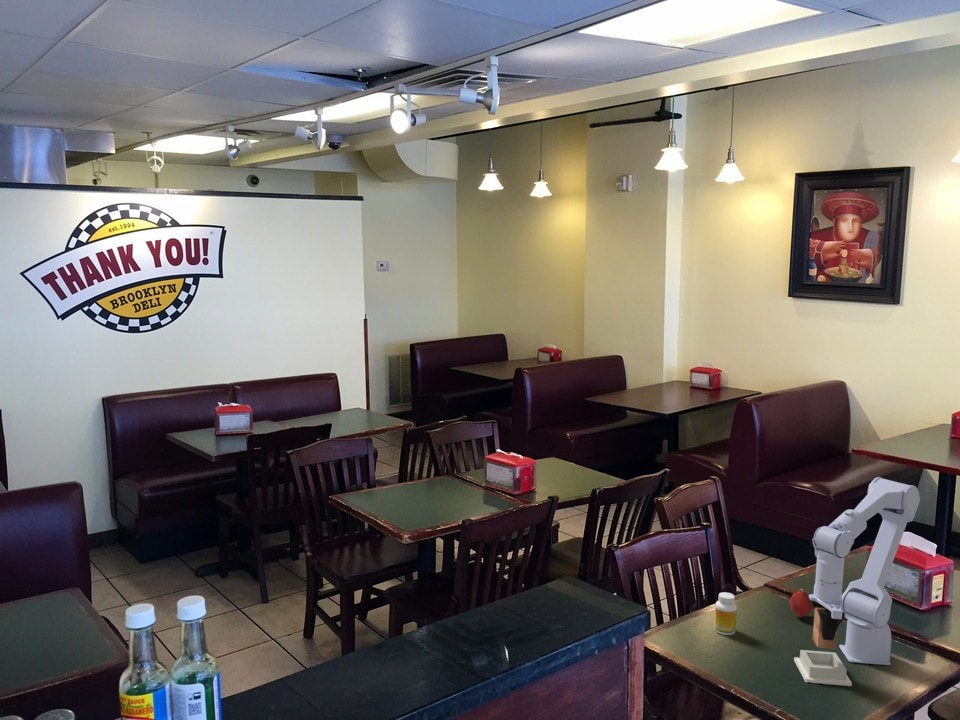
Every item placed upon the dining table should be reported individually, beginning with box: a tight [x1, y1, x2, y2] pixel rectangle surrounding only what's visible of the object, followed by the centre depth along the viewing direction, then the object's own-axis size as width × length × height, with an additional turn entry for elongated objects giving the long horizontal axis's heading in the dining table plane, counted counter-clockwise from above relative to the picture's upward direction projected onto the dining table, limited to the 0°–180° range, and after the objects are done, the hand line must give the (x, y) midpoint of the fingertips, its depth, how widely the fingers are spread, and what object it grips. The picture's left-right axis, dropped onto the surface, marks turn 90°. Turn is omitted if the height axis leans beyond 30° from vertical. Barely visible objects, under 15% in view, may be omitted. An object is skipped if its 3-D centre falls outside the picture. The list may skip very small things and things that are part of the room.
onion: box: [789, 588, 813, 618], centre depth 210 cm, size 6×6×8 cm
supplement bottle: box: [713, 591, 738, 636], centre depth 201 cm, size 5×5×10 cm
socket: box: [793, 649, 853, 687], centre depth 181 cm, size 10×10×3 cm
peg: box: [812, 607, 838, 650], centre depth 180 cm, size 4×4×8 cm
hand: (824, 634), depth 180 cm, fingers closed on peg, 4 cm apart
